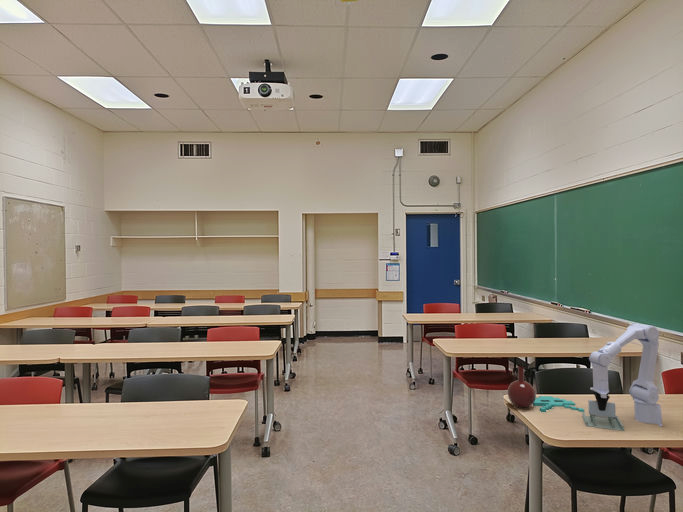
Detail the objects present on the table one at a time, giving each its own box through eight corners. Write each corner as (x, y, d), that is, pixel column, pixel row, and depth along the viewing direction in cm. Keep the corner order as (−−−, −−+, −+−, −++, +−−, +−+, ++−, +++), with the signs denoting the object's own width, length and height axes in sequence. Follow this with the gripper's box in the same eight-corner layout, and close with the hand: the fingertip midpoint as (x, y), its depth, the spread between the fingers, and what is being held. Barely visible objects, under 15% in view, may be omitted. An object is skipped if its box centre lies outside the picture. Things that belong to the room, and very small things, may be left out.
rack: (618, 422, 178) (617, 413, 178) (624, 433, 166) (624, 423, 166) (582, 417, 184) (581, 409, 184) (586, 427, 172) (585, 418, 172)
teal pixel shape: (584, 414, 189) (565, 400, 209) (584, 409, 189) (565, 396, 209) (541, 413, 191) (526, 400, 211) (541, 408, 191) (526, 395, 211)
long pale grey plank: (615, 416, 174) (614, 402, 174) (615, 417, 172) (615, 403, 173) (588, 413, 178) (588, 399, 178) (589, 414, 177) (588, 400, 177)
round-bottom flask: (515, 411, 192) (514, 370, 193) (503, 402, 205) (502, 364, 206) (541, 411, 193) (540, 370, 194) (527, 402, 206) (526, 364, 207)
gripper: (587, 374, 184) (588, 403, 183) (592, 382, 171) (593, 413, 170) (605, 375, 181) (606, 405, 180) (611, 384, 168) (613, 416, 167)
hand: (601, 409), depth 175 cm, fingers closed on long pale grey plank, 1 cm apart
